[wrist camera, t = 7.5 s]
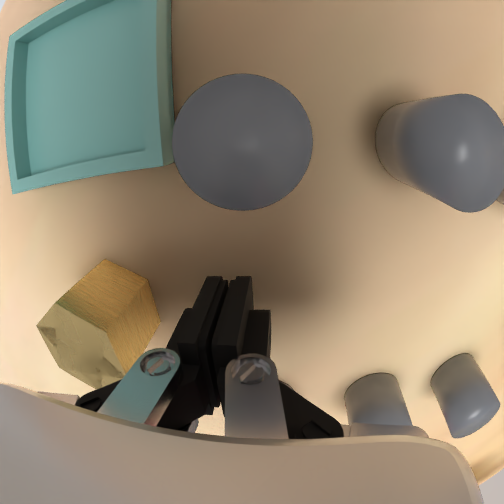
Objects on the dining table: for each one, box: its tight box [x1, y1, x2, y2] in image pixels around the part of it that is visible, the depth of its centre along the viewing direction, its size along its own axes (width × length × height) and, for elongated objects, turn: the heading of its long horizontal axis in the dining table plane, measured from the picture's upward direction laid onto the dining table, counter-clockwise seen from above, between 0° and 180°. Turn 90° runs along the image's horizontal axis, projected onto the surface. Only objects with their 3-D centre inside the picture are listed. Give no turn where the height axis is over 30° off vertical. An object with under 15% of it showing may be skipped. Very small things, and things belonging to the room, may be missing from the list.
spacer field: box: [172, 74, 504, 438], centre depth 10 cm, size 16×15×4 cm
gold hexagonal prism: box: [37, 259, 161, 389], centre depth 11 cm, size 5×4×4 cm
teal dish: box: [5, 0, 175, 194], centre depth 9 cm, size 8×8×2 cm
